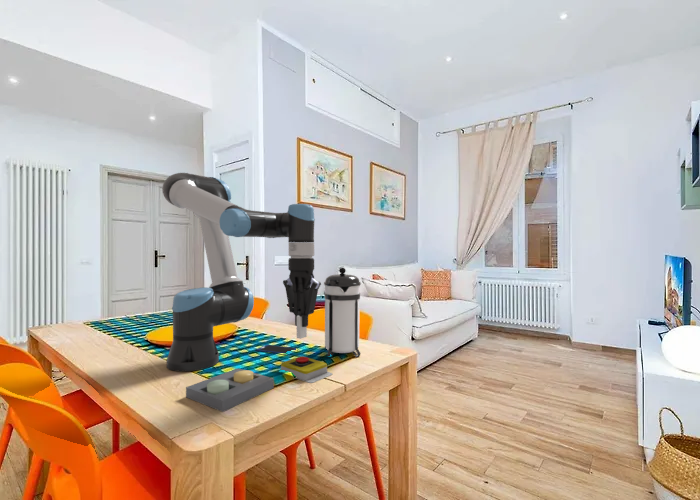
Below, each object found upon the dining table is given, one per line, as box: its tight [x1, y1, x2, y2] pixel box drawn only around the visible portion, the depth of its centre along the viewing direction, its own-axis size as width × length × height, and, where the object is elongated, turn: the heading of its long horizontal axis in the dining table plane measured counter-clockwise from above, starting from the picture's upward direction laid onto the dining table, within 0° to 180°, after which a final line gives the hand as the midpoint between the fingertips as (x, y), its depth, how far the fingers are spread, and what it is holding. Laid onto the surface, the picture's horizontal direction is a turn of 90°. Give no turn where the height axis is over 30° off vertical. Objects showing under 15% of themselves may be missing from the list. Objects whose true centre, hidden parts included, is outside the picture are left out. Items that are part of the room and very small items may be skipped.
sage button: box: [207, 380, 229, 395], centre depth 88 cm, size 5×5×3 cm
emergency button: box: [280, 355, 333, 384], centre depth 105 cm, size 9×4×15 cm
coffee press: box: [323, 266, 361, 358], centre depth 126 cm, size 17×16×30 cm
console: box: [185, 368, 275, 412], centre depth 91 cm, size 14×16×2 cm
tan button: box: [234, 369, 254, 384], centre depth 94 cm, size 5×5×3 cm
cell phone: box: [255, 344, 299, 354], centre depth 127 cm, size 7×14×1 cm, turn 70°
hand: (301, 337), depth 105 cm, fingers closed
